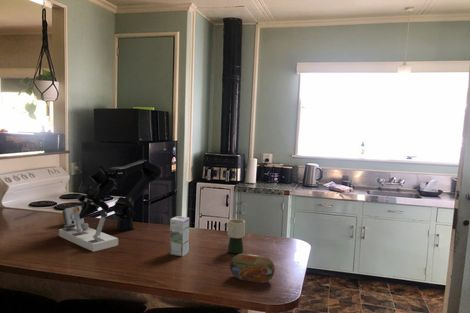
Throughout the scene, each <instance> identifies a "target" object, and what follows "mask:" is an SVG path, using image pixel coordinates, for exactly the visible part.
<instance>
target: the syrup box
mask: <svg viewBox="0 0 470 313" xmlns="http://www.w3.org/2000/svg"><path fill="white" fill-rule="evenodd" d="M169 224H170V225H169V226H170V230H169V232H170V234H169V237H170V238H169V255H170V256H176V257H177V256H178V257H184V256H186V255H188V254H189V251H190V250H189V248H190V246H189V244H190V242H189V240H190V237H189V236H190V217H185V216H174V217H172V218H170V223H169Z"/></svg>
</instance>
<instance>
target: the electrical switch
mask: <svg viewBox="0 0 470 313" xmlns="http://www.w3.org/2000/svg"><path fill="white" fill-rule="evenodd" d="M74 207H75V206H72V207H67V208H64V210H62V212H61V213H62V217H63V223H64V225H68V224H74V225H75V226H77V225H76V220H75V214H74V212H73V208H74ZM76 207H78V208H79V214H80V212H81V209H82V205H78V206H76ZM84 218H85V217H84ZM84 218H82V219H80V222H81V224H82V223H85V219H84Z"/></svg>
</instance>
